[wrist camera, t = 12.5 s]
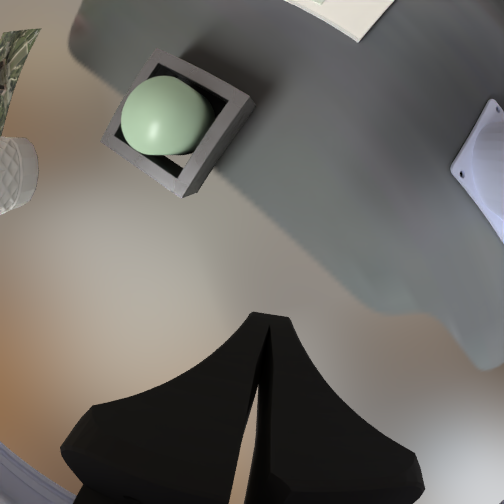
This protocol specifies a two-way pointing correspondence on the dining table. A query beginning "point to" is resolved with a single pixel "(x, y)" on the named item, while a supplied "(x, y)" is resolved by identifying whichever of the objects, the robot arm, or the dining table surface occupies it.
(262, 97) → the dining table surface
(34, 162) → the white cup
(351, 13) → the picture sheet
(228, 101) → the frame
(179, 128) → the button
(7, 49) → the eiffel tower figurine
